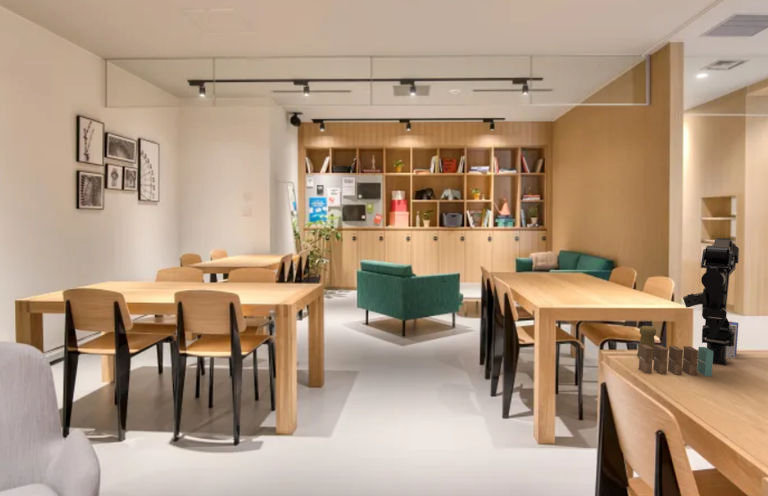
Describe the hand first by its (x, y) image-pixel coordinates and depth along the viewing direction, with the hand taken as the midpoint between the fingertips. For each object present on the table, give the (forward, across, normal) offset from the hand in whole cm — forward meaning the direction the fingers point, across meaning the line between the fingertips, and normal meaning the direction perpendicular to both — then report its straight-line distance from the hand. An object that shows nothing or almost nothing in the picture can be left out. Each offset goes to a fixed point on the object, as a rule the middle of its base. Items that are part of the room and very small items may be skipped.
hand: (712, 335), depth 165 cm
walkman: (+13, -30, +7) cm, 33 cm away
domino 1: (+12, +9, -18) cm, 23 cm away
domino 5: (+12, +1, -1) cm, 12 cm away
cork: (+13, -9, -19) cm, 25 cm away
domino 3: (+12, +5, -10) cm, 16 cm away
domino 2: (+12, +7, -14) cm, 20 cm away
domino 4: (+12, +3, -6) cm, 14 cm away
